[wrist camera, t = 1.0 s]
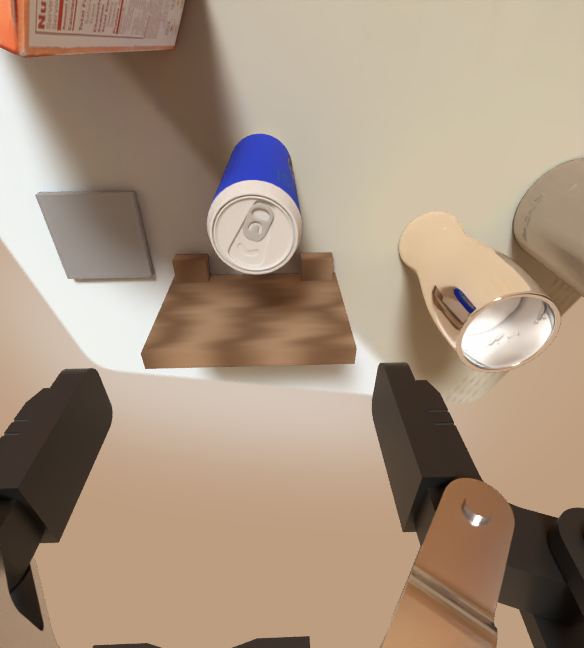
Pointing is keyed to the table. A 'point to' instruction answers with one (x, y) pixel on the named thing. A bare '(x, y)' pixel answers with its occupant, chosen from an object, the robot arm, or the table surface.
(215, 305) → the walnut screen
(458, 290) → the beer glass
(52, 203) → the slate mat
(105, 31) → the cracker box
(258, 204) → the beverage can
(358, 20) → the table surface
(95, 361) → the table surface
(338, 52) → the table surface
